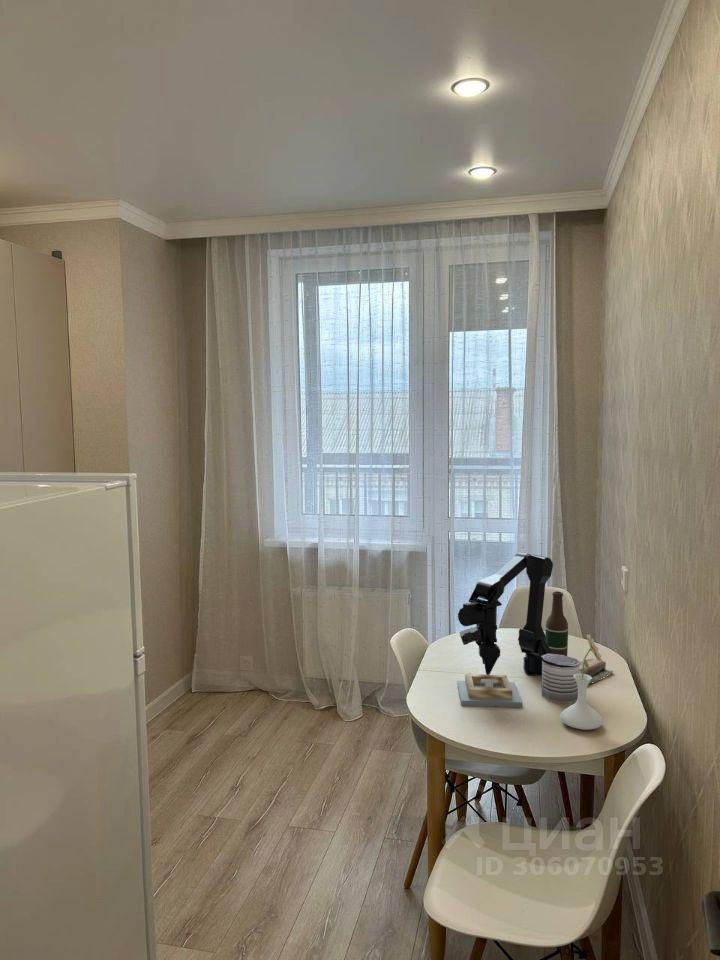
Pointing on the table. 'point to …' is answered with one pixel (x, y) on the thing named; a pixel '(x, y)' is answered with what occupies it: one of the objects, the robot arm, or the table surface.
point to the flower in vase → (583, 699)
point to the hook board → (477, 701)
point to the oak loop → (488, 692)
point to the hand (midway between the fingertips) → (486, 669)
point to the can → (559, 678)
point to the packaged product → (595, 669)
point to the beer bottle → (557, 627)
